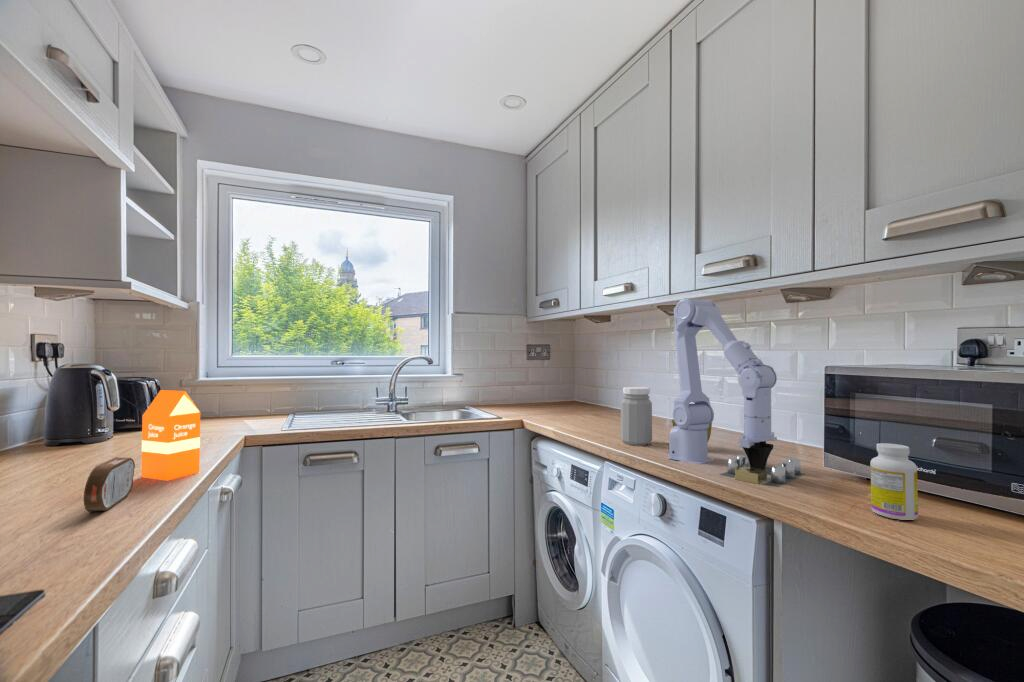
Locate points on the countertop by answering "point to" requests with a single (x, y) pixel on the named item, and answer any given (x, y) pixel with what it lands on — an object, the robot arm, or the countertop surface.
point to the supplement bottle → (894, 482)
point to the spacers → (777, 472)
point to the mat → (768, 481)
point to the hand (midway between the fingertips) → (757, 474)
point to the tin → (109, 484)
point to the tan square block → (751, 474)
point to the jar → (636, 416)
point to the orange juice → (170, 437)
